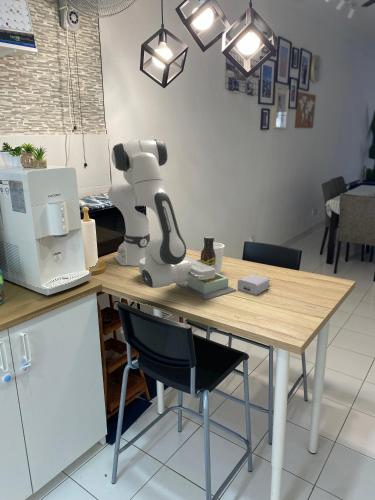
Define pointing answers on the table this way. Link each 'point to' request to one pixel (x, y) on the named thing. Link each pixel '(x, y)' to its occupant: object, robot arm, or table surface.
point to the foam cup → (218, 255)
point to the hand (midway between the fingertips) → (209, 263)
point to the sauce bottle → (208, 254)
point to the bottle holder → (209, 284)
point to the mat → (207, 295)
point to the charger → (253, 284)
